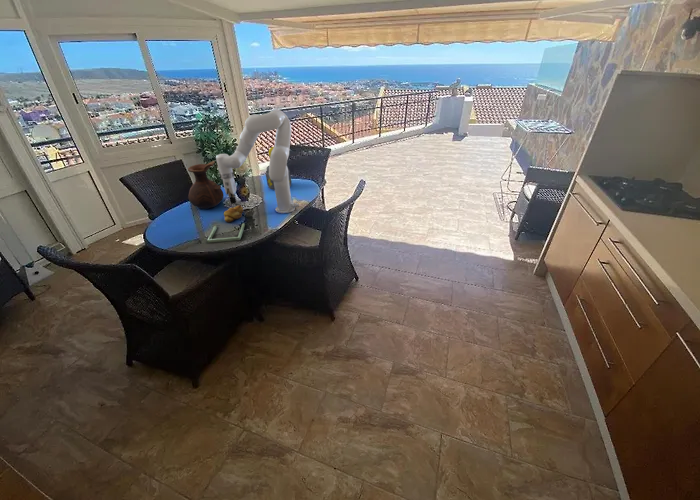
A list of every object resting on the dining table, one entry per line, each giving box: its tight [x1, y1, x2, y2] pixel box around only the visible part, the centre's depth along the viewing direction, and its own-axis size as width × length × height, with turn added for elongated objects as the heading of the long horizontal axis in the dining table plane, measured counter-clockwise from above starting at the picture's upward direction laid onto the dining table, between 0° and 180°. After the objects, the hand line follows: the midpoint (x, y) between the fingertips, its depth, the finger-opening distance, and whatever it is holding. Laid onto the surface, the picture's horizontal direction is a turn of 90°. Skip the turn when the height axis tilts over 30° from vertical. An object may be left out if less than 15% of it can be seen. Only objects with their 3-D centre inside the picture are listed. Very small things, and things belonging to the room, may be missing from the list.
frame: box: [206, 222, 246, 244], centre depth 168 cm, size 17×17×2 cm
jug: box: [187, 160, 225, 210], centre depth 194 cm, size 22×22×30 cm
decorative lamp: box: [265, 146, 292, 191], centre depth 221 cm, size 19×19×30 cm
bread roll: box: [223, 204, 244, 223], centre depth 181 cm, size 13×10×8 cm
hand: (233, 202), depth 189 cm, fingers closed
